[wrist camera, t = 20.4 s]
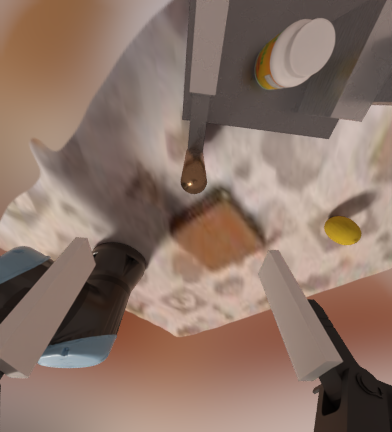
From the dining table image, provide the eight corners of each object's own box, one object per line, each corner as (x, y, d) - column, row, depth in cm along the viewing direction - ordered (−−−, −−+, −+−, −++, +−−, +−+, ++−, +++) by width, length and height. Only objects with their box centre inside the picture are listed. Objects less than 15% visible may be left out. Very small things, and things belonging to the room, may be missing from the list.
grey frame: (183, 118, 29) (172, 133, 16) (193, -36, 20) (188, -291, 7) (321, 136, 31) (416, 164, 18) (386, 2, 22) (677, -147, 9)
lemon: (312, 221, 41) (335, 244, 35) (335, 205, 39) (364, 227, 32) (324, 232, 43) (347, 256, 37) (346, 218, 41) (376, 240, 34)
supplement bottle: (273, 28, 22) (318, -15, 14) (301, 57, 23) (357, 34, 15) (245, 74, 24) (270, 62, 16) (273, 98, 26) (308, 97, 18)
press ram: (185, 161, 31) (179, 192, 20) (198, 1, 20) (201, -103, 10) (201, 163, 31) (204, 195, 21) (223, 6, 21) (251, -92, 10)
